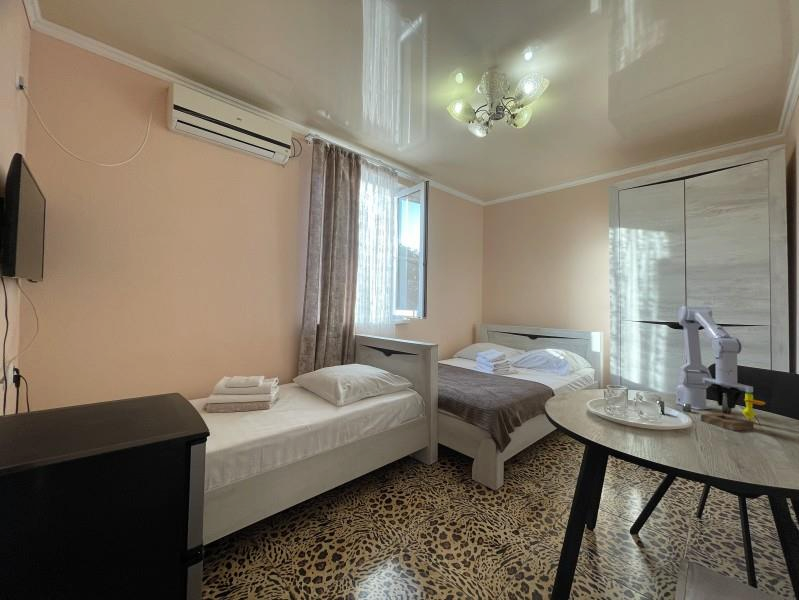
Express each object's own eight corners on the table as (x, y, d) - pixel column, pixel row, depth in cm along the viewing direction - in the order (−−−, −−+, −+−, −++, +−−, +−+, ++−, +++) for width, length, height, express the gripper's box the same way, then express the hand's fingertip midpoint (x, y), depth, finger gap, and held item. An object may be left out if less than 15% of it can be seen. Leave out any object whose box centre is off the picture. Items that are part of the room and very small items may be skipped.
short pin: (681, 410, 137) (681, 403, 137) (686, 410, 137) (686, 403, 137) (687, 412, 134) (687, 405, 134) (692, 412, 135) (692, 404, 135)
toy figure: (766, 425, 121) (766, 392, 121) (763, 426, 119) (763, 393, 119) (741, 419, 127) (741, 388, 127) (737, 420, 125) (737, 389, 125)
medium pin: (654, 412, 134) (654, 400, 134) (659, 412, 134) (659, 400, 134) (660, 414, 131) (660, 402, 131) (666, 414, 132) (666, 401, 132)
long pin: (719, 412, 122) (719, 392, 122) (725, 411, 122) (725, 391, 122) (728, 414, 119) (728, 394, 119) (733, 414, 120) (733, 393, 120)
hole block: (700, 420, 124) (700, 414, 124) (720, 419, 127) (720, 412, 127) (732, 430, 115) (732, 423, 115) (753, 428, 117) (753, 421, 117)
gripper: (696, 366, 127) (696, 401, 127) (742, 374, 113) (742, 413, 113) (710, 366, 129) (710, 400, 128) (757, 374, 114) (757, 412, 114)
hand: (726, 406), depth 121 cm, fingers closed on long pin, 2 cm apart
